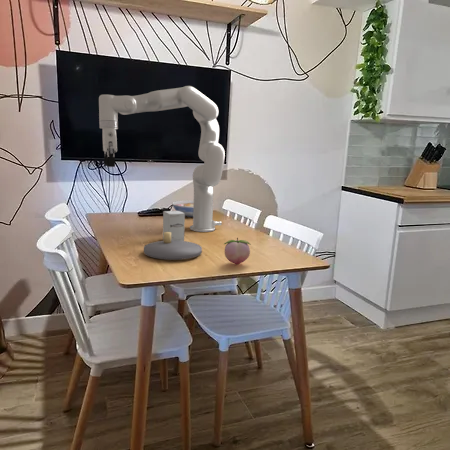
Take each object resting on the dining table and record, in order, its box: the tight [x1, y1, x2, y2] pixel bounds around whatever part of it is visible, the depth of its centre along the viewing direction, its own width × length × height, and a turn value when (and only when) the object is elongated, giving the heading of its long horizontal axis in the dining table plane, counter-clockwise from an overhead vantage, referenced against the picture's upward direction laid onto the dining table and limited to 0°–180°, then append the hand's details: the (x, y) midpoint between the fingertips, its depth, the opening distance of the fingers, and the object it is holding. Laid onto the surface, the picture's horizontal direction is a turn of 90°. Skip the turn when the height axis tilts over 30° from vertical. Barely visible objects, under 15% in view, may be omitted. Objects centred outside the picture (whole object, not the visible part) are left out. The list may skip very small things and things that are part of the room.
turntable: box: [143, 232, 203, 261], centre depth 154 cm, size 22×22×6 cm
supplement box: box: [162, 210, 186, 241], centre depth 173 cm, size 7×7×13 cm
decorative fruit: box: [224, 237, 252, 265], centre depth 143 cm, size 9×8×10 cm
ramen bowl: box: [171, 200, 194, 218], centre depth 232 cm, size 25×23×8 cm
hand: (109, 165), depth 174 cm, fingers open, 9 cm apart
